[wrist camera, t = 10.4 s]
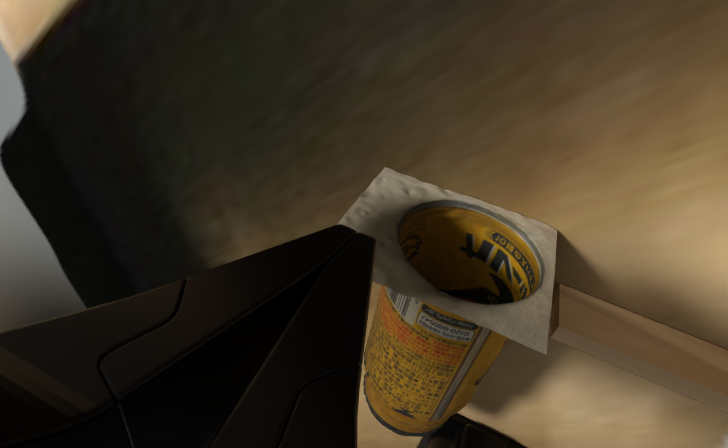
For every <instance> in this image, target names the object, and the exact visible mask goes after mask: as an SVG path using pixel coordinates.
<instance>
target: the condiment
mask: <svg viewBox="0 0 728 448" xmlns="http://www.w3.org/2000/svg"><path fill="white" fill-rule="evenodd" d="M338 224H342V225H345V226H347V227H349V228H352V229H354V230H356V231H357V233H359V232H361V233H364V234H366V235H369V236H371V237H374V238H375V239H376V241H377V243H376V252H375V260H374V269H373V277H372V281H374V282H375V283H378V284H381V285H382V289H381V292H380V296H379V300H378V304H377V307H376V311H375V315H374V318H373V322H372V325H371V329H370V333H369V337H368V340H367V344H366V349H365V353H364V365H365V371H366V374H365V375H364V384H363V385H364V395H365V396H366V401H367V403H368V405H369V408H370V410H371V412H372V414H373V415H374V417H375V418H376V419H377V420H378V421H379V422H380V423H381V424H382V425H383V426H385V427H386V428H388V429H390V430H392V431H393V432H395V433H397V434H399V435H403V436H425V435H428V434H431V433H433V432H435V431H436V430H437V429H439V428H441V427H442V426H443V425H444V424H445V422H447V420H448V419H449V417H450V416H452V415H454V414H455V413H456V412H458V411H459V410H461V409H462V408H463V407H464V406H466V404H467V403H468V401H469V400H470V399H471V397H472V396H473V394H474V392H475V390H476V388H477V387H478V385H479V383H480V381H481V380H482V378H483V377H484V375H485V374H486V372H487V371H488V370H489V368H490V366H491V365H492V363H493V361H494V360H495V358H496V357H497V355H498V354H499V353H500V351H501V349H502V347H503V346H504V344H505V342H506V340H507V339H511V340H514V341H516V342H518V343H520V344H523V345H525V346H527V347H529V348H531V349H533V350H536V351H538V352H540V353H543V354H545V355H547V343H548V332H549V319H550V316H551V307H552V296H553V295H552V294H553V284H554V275H555V261H556V240H557V230H555V229H554V228H552V227H551V226H549V225H547V224H544V223H542V222H540V221H537V220H535V219H530V218H526V217H524V216H523V215H521V214H518V213H515V212H512V211H509V210H506V209H503V208H501V207H497V206H494V205H492V204H489V203H487V202H484V201H482V200H479V199H476V198H473V197H469V196H466V195H462V194H459V193H455V192H452V191H450V190H444V189H442V188H440V187H438V186H435V185H432V184H429V183H425V182H422V181H419V180H418V179H416V178H414V177H411V176H407V175H403V174H401V173H398V172H396V171H394V170H391V169H388V168H386V167H385V168H384V169H383V170H382V172H381V173H380V174H379V175H378V176H377V177H376V178H375V179H374V180H373V182H372V183H371V184H370V186H369V187H368V188H367V189H366V190H365V191H364V192H363V193H361V194H360V196H359V198H358V199H357V201H356V202H355V203H354V204H353V205H352V206H351V208H350V209H349V210H348V211H347V212H346V214H345V215H344V216H343V218H342V219H341V221H340V222H339V223H338ZM338 224H337V225H338Z"/></svg>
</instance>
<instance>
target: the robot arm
mask: <svg viewBox="0 0 728 448" xmlns="http://www.w3.org/2000/svg"><path fill="white" fill-rule="evenodd" d="M376 243H377V241H376V239H375V238H374V237H371V236H369V235H366V234H364V233H361V232H359V233H357V231H356V230H354V229H352V228H349V227H347V226H345V225H342V224H338V225H335V226H332V227H329V228H326V229H323V230H320V231H318V232H315V233H312V234H309V235H306V236H303V237H301V238H298V239H295V240H292V241H289V242H286V243H284V244H281V245H278V246H275V247H272V248H269V249H267V250H264V251H261V252H258V253H255V254H252V255H250V256H247V257H244V258H241V259H238V260H235V261H233V262H230V263H227V264H224V265H221V266H218V267H215V268H213V269H210V270H207V271H204V272H201V273H198V274H196V275H193V276H190V277H188V278H187V280H185V279H181V280H178V281H175V282H173V283H170V284H167V285H164V286H161V287H158V288H155V289H152V290H149V291H146V292H143V293H140V294H137V295H134V296H131V297H127V298H124V299H120V300H117V301H113V302H110V303H106V304H103V305H99V306H96V307H92V308H89V309H85V310H81V311H78V312H74V313H70V314H66V315H63V316H59V317H55V318H51V319H48V320H44V321H40V322H36V323H33V324H30V325H25V326H22V327H18V328H14V329H10V330H7V331H3V332H0V448H357V415H358V402H359V389H360V380H361V372H362V367H361V366H362V361H363V353H364V345H365V336H366V328H367V319H368V311H369V302H370V294H371V285H372V277H373V269H374V260H375V252H376ZM417 448H523V447H521V446H519V445H516V444H514V443H512V442H510V441H508V440H506V439H504V438H502V437H500V436H498V435H496V434H494V433H492V432H490V431H488V430H486V429H484V428H482V427H480V426H478V425H476V424H474V423H472V422H470V421H468V420H466V419H464V418H462V417H460V416H458V415H456V414H454V415H452V416H450V417H449V419H448V420H447V422H445V424H444V425H443V426H442V427H441V428H439V429H437V430H436V431H435V432H433V433H431V434H428V435H425V436H422V438H421V440H420V442H419V444H418V446H417Z"/></svg>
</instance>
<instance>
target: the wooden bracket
mask: <svg viewBox="0 0 728 448" xmlns="http://www.w3.org/2000/svg"><path fill="white" fill-rule="evenodd" d="M550 338H551V339H554V340H556V341H558V342H561V343H563V344H565V345H568V346H570V347H572V348H575V349H577V350H579V351H582V352H584V353H586V354H589V355H591V356H593V357H596V358H598V359H600V360H603V361H605V362H607V363H610V364H612V365H614V366H617V367H619V368H621V369H624V370H626V371H629V372H631V373H633V374H636V375H638V376H640V377H643V378H645V379H647V380H650V381H652V382H654V383H657V384H659V385H661V386H664V387H666V388H668V389H671V390H673V391H675V392H678V393H680V394H682V395H685V396H687V397H689V398H692V399H694V400H696V401H699V402H701V403H703V404H706V405H708V406H710V407H713V408H715V409H717V410H720V411H722V412H724V413H727V414H728V350H726V349H724V348H721V347H719V346H716V345H714V344H711V343H709V342H706V341H703V340H701V339H698V338H696V337H693V336H691V335H688V334H686V333H683V332H681V331H678V330H676V329H673V328H671V327H668V326H666V325H663V324H661V323H658V322H656V321H653V320H650V319H648V318H645V317H643V316H640V315H638V314H635V313H633V312H630V311H628V310H625V309H623V308H620V307H618V306H615V305H613V304H610V303H608V302H605V301H603V300H600V299H597V298H595V297H592V296H590V295H587V294H585V293H582V292H580V291H577V290H575V289H572V288H570V287H567V286H565V285H562V284H559V286H558V287H557V289H556V290H555V292H554V293H553V296H552V314H551V335H550Z"/></svg>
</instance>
